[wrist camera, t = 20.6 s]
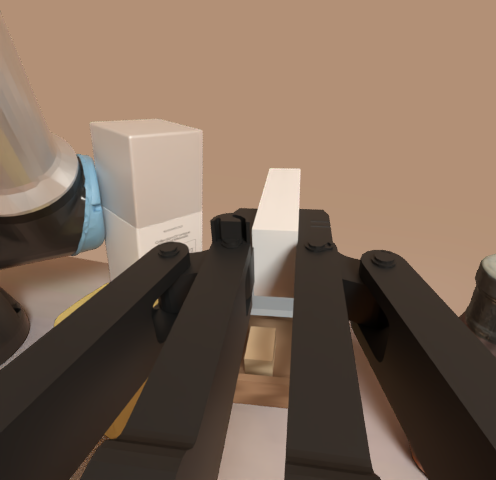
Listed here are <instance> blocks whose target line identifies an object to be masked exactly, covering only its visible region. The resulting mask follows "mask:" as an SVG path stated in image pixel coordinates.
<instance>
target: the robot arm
mask: <svg viewBox="0 0 496 480" xmlns="http://www.w3.org/2000/svg"><path fill="white" fill-rule="evenodd" d="M299 196H300V169H281V168H275V169H273V168H270V170H269V173H268V177H267V180H266V183H265V187H264V190H263V193H262V197H261V201H260V204H259V207H258V209H247V208H240V209H238V210H237V211H235V212H234V213H226V214H221V215H218V216H216V217H214V218H213V219H212V220H211V232H212V244H211V246H210V249H209V250H206V251H201V252H194V253H189V248H188V246H187V245H186V244H183V243H180V242H165V243H163V244H160V245H157V246H156V247H154V248H152V249H151V250H150V251H149V252H147V253H146V254H145V255H144V256H142V257H141V258H140V259H139V260H137V261H136V262H135V263H134V264H132V265H131V266H130V267H129V268H127V269H126V270H125V271H124V272H122V273H121V274H120V275H119V276H117V277H116V278H115V279H114V280H112V281H111V282H110V283H109V284H107V285H106V286H105V287H104V288H102V289H101V290H100V291H99V292H97V293H96V294H95V295H94V296H92V297H91V298H90V299H89V300H87V301H86V302H85V303H84V304H82V305H81V306H80V307H79V308H77V309H76V310H75V311H74V312H72V313H71V314H70V315H69V316H67V317H66V318H65V319H64V320H62V321H61V322H60V323H59V324H57V325H56V326H55V327H54V328H52V329H51V330H50V331H49V332H48V333H46V334H45V335H44V336H43V337H41V338H40V339H39V340H38V341H36V342H35V343H34V344H33V345H31V346H30V347H29V348H28V349H26V350H25V351H24V352H23V353H21V354H20V355H19V356H18V357H16V358H15V359H14V360H13V361H11V362H10V363H9V364H8V365H6V366H5V367H4V368H3V369H1V370H0V480H69V479H70V478H71V477H72V475H73V474H74V473H75V471H76V470H77V469H78V468H79V466H80V465H81V464H82V462H83V461H84V460H85V458H86V457H87V456H88V455H89V453H90V452H91V451H92V449H93V448H94V447H95V446H96V444H97V443H98V442H99V440H100V439H101V438H102V436H103V435H104V434H105V433H106V431H107V430H108V429H109V427H110V426H111V425H112V424H113V422H114V421H115V420H116V418H117V417H118V416H119V414H120V413H121V412H122V411H123V409H124V408H125V407H126V405H127V404H128V403H129V402H130V400H131V399H132V398H133V396H134V395H135V394H136V393H137V391H138V390H139V389H140V387H141V386H142V385H143V383H144V382H145V381H146V380H147V381H146V383H145V385H144V387H143V390H142V392H141V394H140V396H139V398H138V400H137V402H136V404H135V406H134V408H133V411H132V413H131V415H130V417H129V419H128V421H127V423H126V425H125V427H124V429H123V431H122V433H121V434H120V435H119V436H118V437H117V438H115V439H109V440H106V441H105V442H103V443H102V444H101V445H100V446H99V447H98V449H97V450H96V452H95V453H94V455H93V456H92V458H91V460H90V461H89V463H88V465H87V467H86V469H85V471H84V473H83V475H82V477H81V479H80V480H217V478H218V473H219V468H220V463H221V458H222V453H223V448H224V444H225V439H226V434H227V429H228V424H229V419H230V414H231V409H232V404H233V399H234V394H235V389H236V384H237V379H238V374H239V369H240V364H241V359H242V354H243V349H244V344H245V339H246V334H247V329H248V324H249V319H250V314H251V309H252V292H253V287H254V296H269V297H284V298H294V301H293V321H292V341H291V361H290V381H289V402H288V422H287V442H286V461H285V478H284V480H381V479H380V477H379V476H377V475H376V474H375V473H374V471H373V469H372V464H371V459H370V453H369V447H368V440H367V434H366V428H365V421H364V415H363V409H362V402H361V396H360V390H359V383H358V377H357V371H356V364H355V358H354V352H353V345H352V339H351V333H350V326H349V321H351V326H352V329H353V331H354V333H355V335H356V337H357V339H358V341H359V343H360V345H361V347H362V349H363V351H364V353H365V355H366V357H367V359H368V361H369V363H370V365H371V367H372V369H373V371H374V373H375V375H376V377H377V379H378V381H379V383H380V385H381V387H382V389H383V391H384V393H385V395H386V397H387V399H388V401H389V403H390V405H391V406H392V408H393V410H394V412H395V414H396V416H397V418H398V420H399V422H400V424H401V426H402V428H403V430H404V432H405V434H406V436H407V438H408V440H409V442H410V444H411V446H412V448H413V450H414V452H415V454H416V456H417V458H418V460H419V462H420V464H421V466H422V468H423V470H424V472H425V474H426V476H427V478H428V480H496V357H495V356H494V355H493V354H492V353H491V352H490V351H489V350H488V348H487V347H486V346H485V345H484V344H483V343H482V342H481V341H480V340H479V339H478V338H477V337H476V336H475V335H474V333H473V332H472V331H471V330H470V329H469V328H468V327H467V326H466V325H465V324H464V323H463V322H462V321H461V319H460V318H459V317H458V316H457V315H456V314H455V313H454V312H453V311H452V310H451V309H450V308H449V307H448V306H447V305H446V303H445V302H444V301H443V300H442V299H441V298H440V297H439V296H438V295H437V294H436V293H435V292H434V290H433V289H432V288H431V287H430V286H429V285H428V284H427V283H426V282H425V281H424V280H423V279H422V278H421V276H420V275H419V274H418V273H417V272H416V271H415V270H414V269H413V268H412V267H411V266H410V265H409V264H408V263H407V261H405V259H403V258H402V257H401V256H399V255H397V254H395V253H392V252H390V251H386V250H372V251H367V252H366V253H364V254H362V257H361V260H358V259H354V258H350V257H346V256H344V255H342V254H340V253H339V252H338V251H337V247H336V245H335V243H333V241H332V234H331V228H330V220H329V215H328V214H327V213H326V212H324V210H310V209H299ZM104 239H105V227H104V218H103V211H102V207H101V197H100V190H99V184H98V179H97V174H96V169H95V165H94V161H93V159H92V158H91V157H89V156H87V155H81V154H75V152H74V150H73V148H72V147H71V145H70V144H69V143H68V142H67V141H65V140H64V139H63V138H61V137H60V136H58V135H56V134H54V133H52V132H50V131H49V128H48V126H47V123H46V121H45V118H44V116H43V113H42V111H41V109H40V106H39V104H38V102H37V99H36V96H35V94H34V92H33V89H32V87H31V84H30V82H29V79H28V77H27V75H26V72H25V70H24V67H23V65H22V62H21V60H20V58H19V55H18V53H17V50H16V48H15V46H14V43H13V41H12V38H11V36H10V33H9V31H8V29H7V26H6V23H5V21H4V19H3V16H2V14H1V11H0V270H1V269H6V268H11V267H15V266H20V265H25V264H30V263H34V262H39V261H44V260H49V259H55V258H60V257H65V256H70V255H71V256H75V255H78V254H79V253H81V252H85V251H88V250H93V249H96V248H98V247H99V246H101V244H102V243H103V241H104ZM157 299H158V303H157V304H156V305H155V306H154V307H153V305H154V303H155V302H156V300H157ZM29 328H30V323H29V320H28V318H27V316H26V313H25V311H24V309H23V308H22V306H21V305H20V304H19V303H18V302H17V301H15V300H14V299H13V298H12V297H11V296H10V295H9V294H8V293H7V292H5V291H4V290H3V289H2V288H1V287H0V365H1V364H2V363H3V362H5V361H6V360H7V359H8V358H9V357H10V356H11V355H13V354H14V353H15V352H16V350H17V349H18V348H19V347H20V346H21V345H22V343H23V342H24V340H25V339H26V337H27V335H28V332H29ZM147 378H148V379H147Z"/></svg>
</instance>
